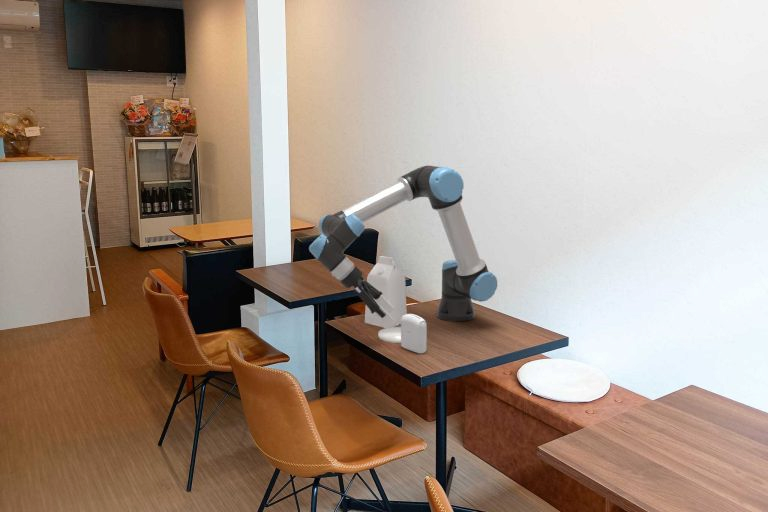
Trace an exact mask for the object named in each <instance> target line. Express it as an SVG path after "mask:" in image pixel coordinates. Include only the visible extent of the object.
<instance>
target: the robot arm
mask: <svg viewBox="0 0 768 512" xmlns="http://www.w3.org/2000/svg"><path fill="white" fill-rule="evenodd" d="M464 187H465V186H464V179H463V178H462V176H461V174H460V173H459V172H458V171H456V170H455V169H454V168H451V167H447V166H435V165H423V166H420V167H418V168H416V169H412V170H411V171H409V172H408V173H405V174H404V175H401V176H400V177H398V178H397V181H396V182H394V183H392V184H390V185H388V186H387V187H384V188H383V189H381V190H379V191H376V192H375V193H373V194H370V195H368V196H367V197H365V198H362V199H361V200H359V201H357V202H355V203H354V204H353V203H352V204H351V205H349V206H347V207H346V208H344V209H342V210H340V211H337V212H334V214H325V215H323V216H322V217H321V218H320V219H319V221H318V228H319V231H320V233H322V234H320V235H319V236H318V237H317V238H315V240H314V241H313V242H312V243H311V244H310V245H309V247H308V250H309V252H310V253H311V255H312V256H313V257H314V258H315V259H316V260H317V261H318V262H320V264H321V265H322V266H324V268H325V269H326V270H327V271H328V272H329V273H331V277H333V278H335V279H336V280H338V281H340V283H341V284H342V285H343V286H344V287H345V288H346V289H351V288H352V287H353V288H354V289H353V292H354V293H355V294H357V296H358V297H359V299H360V300H361V301H362V302H363V304H365V306H366V305H367V307H368V308H369V309H370V310H371V313H372V314H373V313H374V312H375V313H376V314H377V315H378V316H379V317H380V318H381V319H382V320H383V321H384V322H385V323H386V324H387V325H388V326H389V325H390V324H391V323H392V322H393V321H394V319H393V318H392V317H391V316H390V315H389V313H391V312H392V311H393V310H394V307H393V306H392V305H391V304H390V303H389V302H388V301H387V300H386V299H385V298H384V297H383V296H382V294H383V293H382V292H381V291H380V292H379V291H378V290H377V289H376V288H374V287H373V286H372V285H371V284H369V283H368V282H367V279H365V278H364V277H362V276H363V274H364V273H363V271H362V270H360V268H358V266H356V265H355V264H354V262H353V261H351V260H350V259H349V257H347V256H346V254H344V252H345V251H346V249H348V248H349V247H350V245H351V244H352V243H354V242H355V241H356V240H357V239H358V238H359V237H360V236H361V234H362V233H363V232H364V231H365V229H366V227H365V224H364V223H365V222H367V221H369V220H371V219H373V218H375V217H376V216H378V215H380V214H382V213H384V212H386V211H389V210H390V209H392V208H394V207H396V206H398V205H400V204H402V203H404V202H406V201H407V202H411V201H413V200H415V199H417V198H418V199H419V198H428V200H429V203H430V206H431V208H432V210H433V211H434V210H435V211H437V214H438V215H439V218H440V221H441V224H442V226H443V229H444V232H445V234H446V237H447V240H448V242H449V245H450V248H451V250H452V253H453V257H454V259H451V260H449V259H448V260H445V261H444V262H443V263H442V266H441V298H440V301H439V304H438V305H437V306H438V307H437V309H436V316H437V317H438V318H439V319H441V320H444V321H448V322H467V321H471V320H473V319H474V318H475V316H476V314H475V309H474V305H473V302H472V300H473V301H475V302H476V301H477V302H483V303H484V302H486V301H489V300H491V298H492V297H493V296H494V295H495V293H496V291H497V289H498V279H497V276H496V275H495V274H494V273H492V272H490V271H489V269H488V266H487V264H486V261H485V260H484V259H481V258H480V256H479V253H478V250H477V247H476V244H475V241H474V239H473V236H472V233H471V231H470V230H471V229H470V227H469V225H468V221H467V219H466V218H467V217H466V215H465V213H464V211H463V207H462V204H461V202H463V201H462V200H463V190H464ZM374 299H377V300H376V301H375V300H374ZM376 302H377V303H378V304H379V305H380V307H379V305H378V304H377V303H376Z"/></svg>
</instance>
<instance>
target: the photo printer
mask: <svg viewBox="0 0 768 512" xmlns="http://www.w3.org/2000/svg"><path fill="white" fill-rule="evenodd" d="M427 325H428V324H427V322H426V320H425V319H424V318H423V317H421V316H419V315H417V314H414V313H407V314H406V315H403V317H402V319H401V324H400V327H401V343H400V346H401V348H404V349H405V350H409V351H411V352H414V353H417V354H424V353H426V352H427V334H428V333H427V332H428V331H427V330H428V329H427V328H428V327H427Z"/></svg>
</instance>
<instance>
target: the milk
mask: <svg viewBox="0 0 768 512" xmlns="http://www.w3.org/2000/svg"><path fill="white" fill-rule="evenodd" d="M366 278H367V279H366V281H367V282H368V283H369V284H371V285H372V286H373V287H374V288H376V289H377V290H378V291H379V292H380V291H381V292H382V293H383V294H382V296H383V297H384V298H385V299H386V300H387V301H388V302H389V303H390V304H391V305H392V306H393V307H394V310H393V311H392V312H391V313H389V315H390V316H391V317H392V318H393V319H394V321H393V322H392V323H391V324H390V325H389V326H388V325H387V324H386V323H385V322H384V321H383V320H382V319H381V318H380V317H379V316H378V315H377V314H376V313H375V312H374V313H373V314H372V313H371V310H370V309H369V308H368V307H367V305H366V304H365V309H364V310H365V313H364V323H365V324H368V325H373V326H377V327H379V328H383V329H384V328H389V327H398V326H400V325H401V319H402V317H403V315H406V314H408V313H407V311H408V309H407V292H406V291H407V290H406V276H405V273H404V272H402V270H401V269H400V268H399V267H398V266H397V265H396V262H395V259H394V257H390V256H385V255H380V256H378V259H377V262H376V264H375V265H374V266H373V268H372V269H371V270H370V272H369V273H368V274H367V277H366ZM374 300H375V301H376V300H377V299H374ZM376 303H377V302H376ZM377 304H378V303H377ZM378 305H379V304H378ZM379 307H380V305H379ZM399 324H400V325H399Z"/></svg>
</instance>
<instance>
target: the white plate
mask: <svg viewBox="0 0 768 512" xmlns="http://www.w3.org/2000/svg"><path fill="white" fill-rule="evenodd" d="M377 332H378V338H379V339H380V340H382V341H384V342H387V343H393V344H401V326H395V327H389V328H383V329H380V330H379V331H377Z"/></svg>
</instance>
